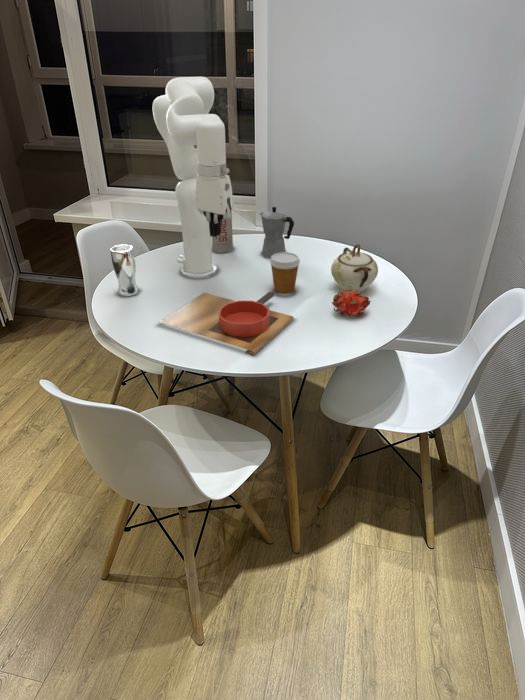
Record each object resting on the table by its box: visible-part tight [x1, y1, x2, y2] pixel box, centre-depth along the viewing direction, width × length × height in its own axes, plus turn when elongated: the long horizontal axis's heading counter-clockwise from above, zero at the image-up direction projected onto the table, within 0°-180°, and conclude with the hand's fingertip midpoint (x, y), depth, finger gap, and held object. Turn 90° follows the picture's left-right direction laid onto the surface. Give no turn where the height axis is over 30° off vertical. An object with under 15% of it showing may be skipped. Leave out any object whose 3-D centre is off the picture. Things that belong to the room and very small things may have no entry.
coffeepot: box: [259, 206, 295, 259], centre depth 183 cm, size 15×9×18 cm, turn 51°
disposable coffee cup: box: [269, 251, 301, 294], centre depth 157 cm, size 10×10×12 cm
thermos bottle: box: [211, 210, 234, 254], centre depth 186 cm, size 8×8×28 cm
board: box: [158, 292, 294, 356], centre depth 143 cm, size 32×22×1 cm
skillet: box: [219, 291, 275, 337], centre depth 143 cm, size 14×23×4 cm, turn 150°
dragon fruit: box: [331, 289, 372, 318], centre depth 146 cm, size 8×8×12 cm
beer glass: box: [110, 244, 139, 297], centre depth 157 cm, size 7×7×15 cm
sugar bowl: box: [330, 244, 379, 294], centre depth 159 cm, size 20×15×15 cm
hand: (215, 234), depth 144 cm, fingers closed
